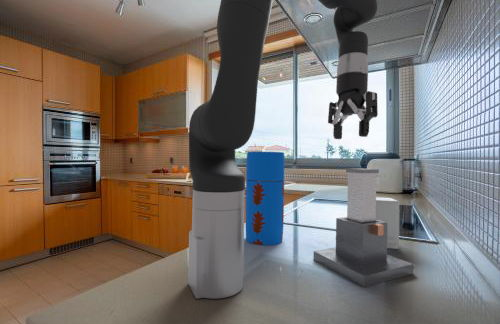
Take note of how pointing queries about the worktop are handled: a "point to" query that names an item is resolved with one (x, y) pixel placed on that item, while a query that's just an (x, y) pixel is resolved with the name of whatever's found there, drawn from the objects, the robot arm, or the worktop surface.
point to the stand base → (362, 254)
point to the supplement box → (389, 219)
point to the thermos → (264, 197)
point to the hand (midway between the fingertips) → (349, 137)
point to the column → (361, 195)
